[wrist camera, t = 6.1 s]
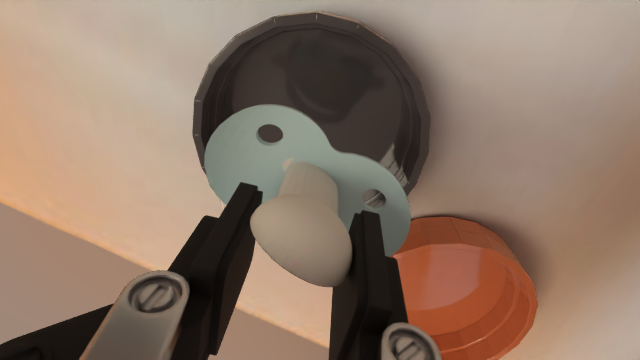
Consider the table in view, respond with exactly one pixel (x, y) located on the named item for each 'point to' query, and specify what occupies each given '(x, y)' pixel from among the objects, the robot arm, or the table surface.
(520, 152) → the table surface
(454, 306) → the terracotta bowl
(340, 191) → the pacifier
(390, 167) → the charcoal bowl
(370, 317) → the robot arm
